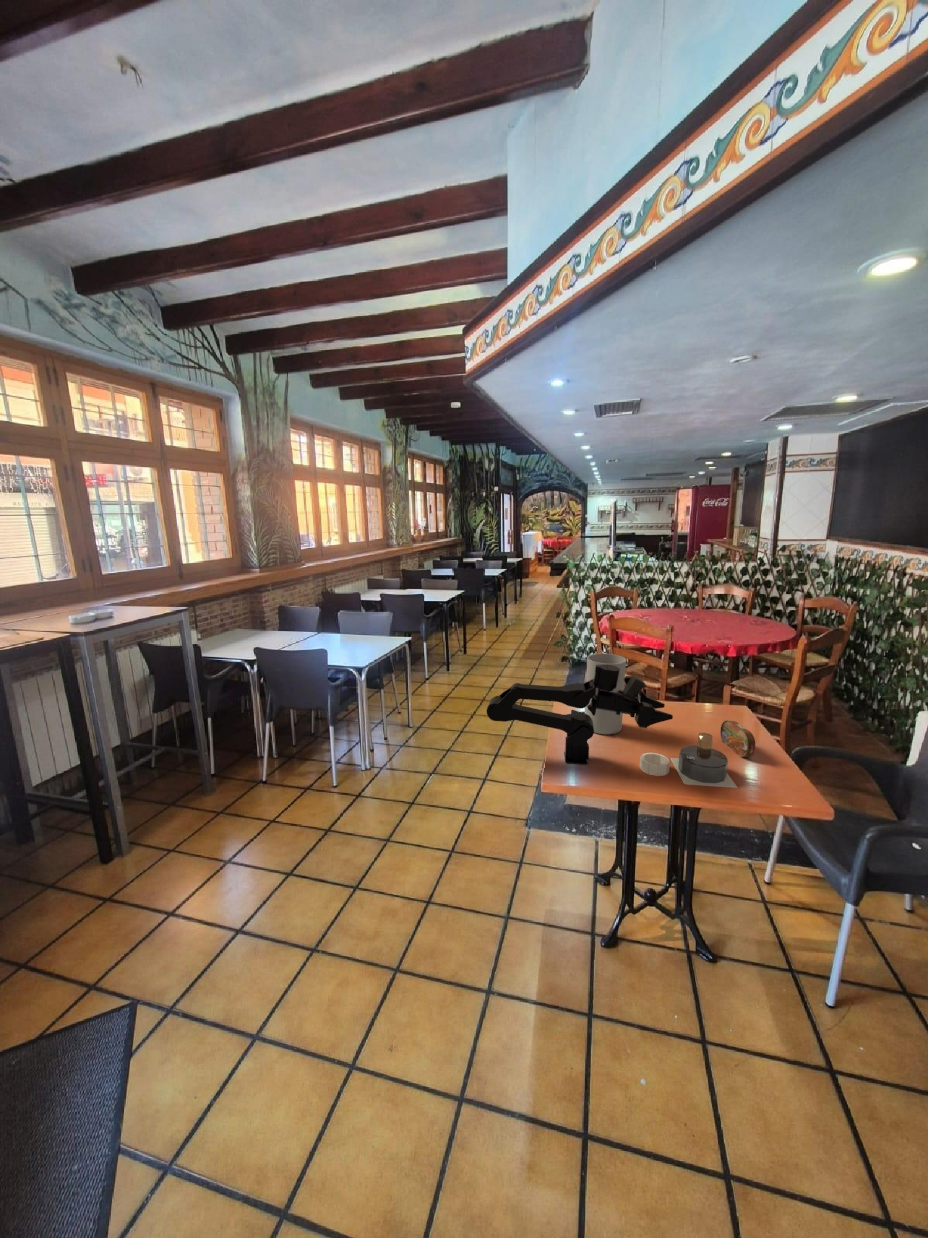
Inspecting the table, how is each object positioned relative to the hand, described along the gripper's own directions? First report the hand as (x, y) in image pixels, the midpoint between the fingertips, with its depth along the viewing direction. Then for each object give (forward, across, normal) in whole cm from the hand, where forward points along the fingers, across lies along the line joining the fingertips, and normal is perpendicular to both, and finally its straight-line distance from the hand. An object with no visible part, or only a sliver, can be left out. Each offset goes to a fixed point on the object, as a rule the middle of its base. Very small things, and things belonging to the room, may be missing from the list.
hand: (668, 711), depth 141 cm
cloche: (+12, -3, +15) cm, 19 cm away
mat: (+12, -3, +16) cm, 20 cm away
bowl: (-1, -3, +17) cm, 18 cm away
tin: (+26, +13, +13) cm, 32 cm away
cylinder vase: (-12, +25, +18) cm, 33 cm away
